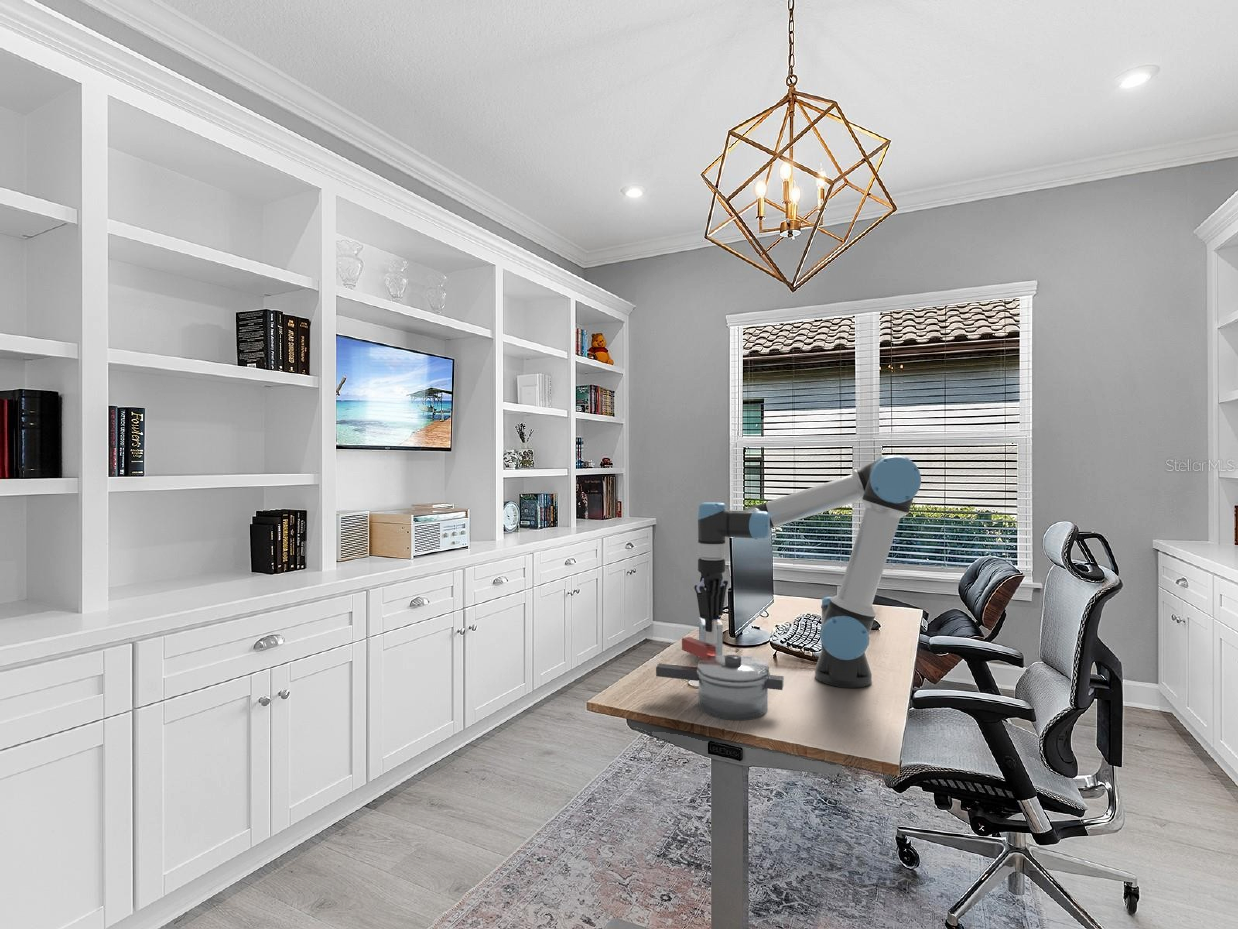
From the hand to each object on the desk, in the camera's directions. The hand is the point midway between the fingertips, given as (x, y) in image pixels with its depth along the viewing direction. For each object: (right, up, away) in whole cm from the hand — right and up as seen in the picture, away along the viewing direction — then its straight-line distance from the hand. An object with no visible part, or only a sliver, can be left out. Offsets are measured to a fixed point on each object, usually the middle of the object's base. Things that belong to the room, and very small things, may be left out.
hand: (711, 642), depth 186 cm
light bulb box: (+3, -11, +27) cm, 29 cm away
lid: (0, -2, -14) cm, 14 cm away
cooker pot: (-1, -11, -18) cm, 21 cm away
